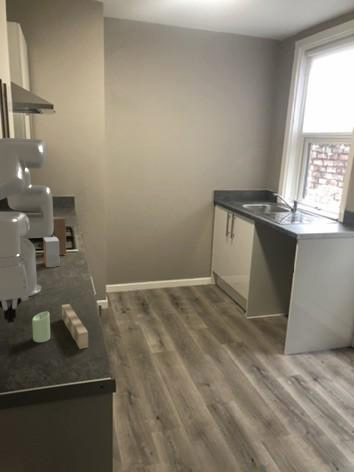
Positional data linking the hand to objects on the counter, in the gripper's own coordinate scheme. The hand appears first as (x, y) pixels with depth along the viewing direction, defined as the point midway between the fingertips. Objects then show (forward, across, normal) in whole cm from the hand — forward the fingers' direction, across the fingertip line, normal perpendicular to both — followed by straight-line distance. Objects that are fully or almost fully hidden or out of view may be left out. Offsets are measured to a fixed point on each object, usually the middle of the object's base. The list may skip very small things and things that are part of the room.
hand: (10, 320), depth 111 cm
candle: (+8, -9, -1) cm, 12 cm away
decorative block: (+6, -32, -88) cm, 94 cm away
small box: (+6, -27, -72) cm, 77 cm away
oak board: (+8, -19, -1) cm, 20 cm away
